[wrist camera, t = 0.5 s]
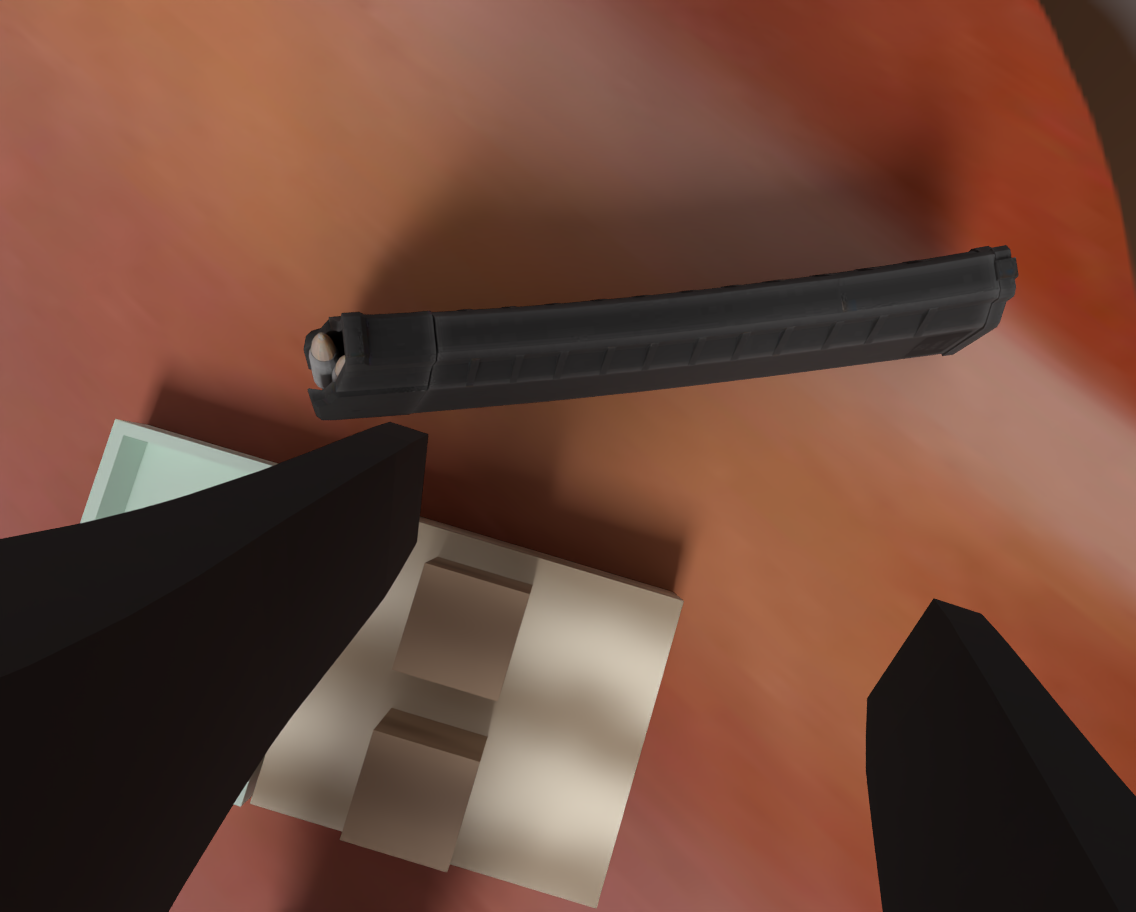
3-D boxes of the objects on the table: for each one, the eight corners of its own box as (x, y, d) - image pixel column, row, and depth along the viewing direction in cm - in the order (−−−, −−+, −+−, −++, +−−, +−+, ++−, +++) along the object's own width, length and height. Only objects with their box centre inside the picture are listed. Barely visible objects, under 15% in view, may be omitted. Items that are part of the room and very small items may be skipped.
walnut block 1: (504, 682, 31) (497, 701, 28) (407, 653, 31) (391, 669, 28) (532, 584, 32) (529, 594, 29) (437, 556, 32) (424, 562, 29)
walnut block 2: (458, 836, 31) (447, 872, 28) (361, 806, 31) (339, 840, 28) (487, 736, 31) (479, 762, 28) (391, 707, 31) (373, 729, 28)
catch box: (264, 783, 34) (240, 806, 32) (48, 718, 34) (8, 736, 32) (357, 487, 35) (342, 486, 32) (147, 424, 35) (115, 418, 32)
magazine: (1115, 223, 27) (272, 212, 18) (1129, 306, 27) (283, 339, 18) (826, 336, 43) (309, 360, 34) (833, 388, 43) (315, 427, 34)
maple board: (593, 872, 34) (596, 908, 31) (277, 776, 34) (250, 803, 31) (673, 591, 35) (683, 600, 32) (364, 499, 35) (345, 500, 32)
